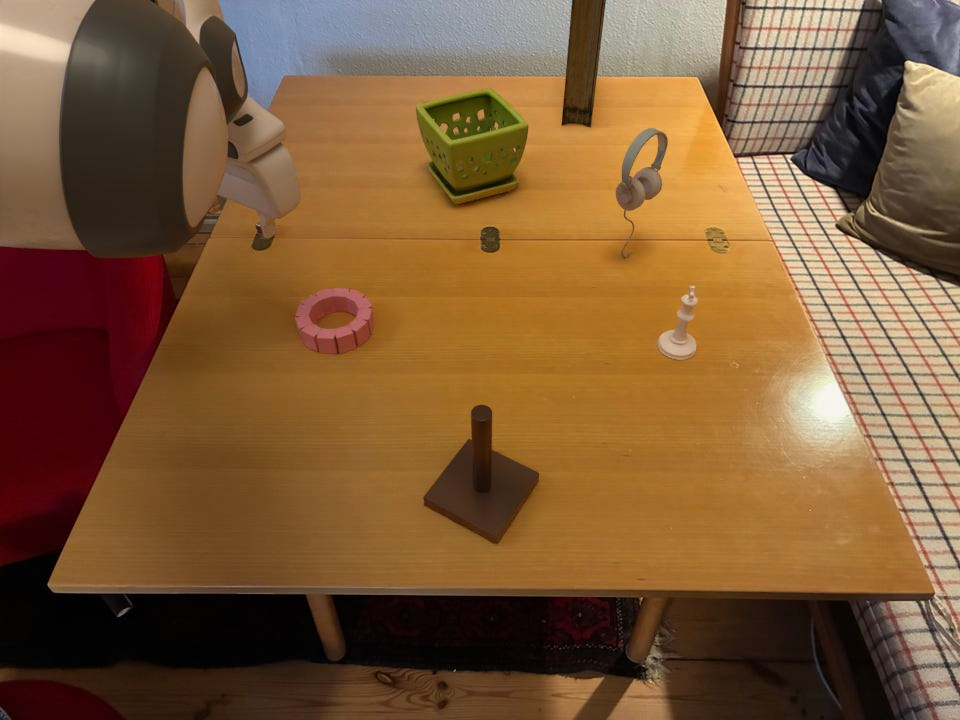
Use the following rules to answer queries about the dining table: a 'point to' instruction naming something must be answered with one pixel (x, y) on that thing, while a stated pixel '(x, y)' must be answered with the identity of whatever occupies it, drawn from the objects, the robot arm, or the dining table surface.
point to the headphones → (640, 175)
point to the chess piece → (680, 331)
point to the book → (582, 60)
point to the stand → (481, 483)
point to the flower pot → (473, 144)
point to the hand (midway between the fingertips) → (239, 222)
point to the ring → (338, 337)
